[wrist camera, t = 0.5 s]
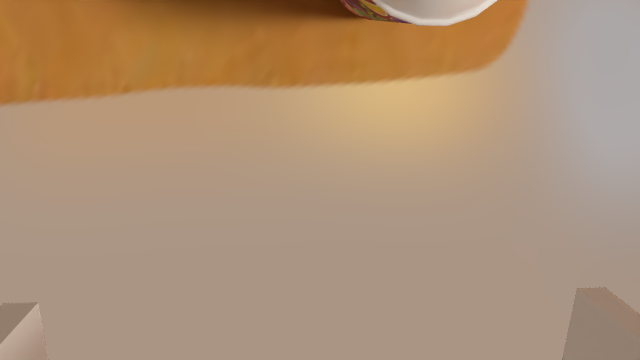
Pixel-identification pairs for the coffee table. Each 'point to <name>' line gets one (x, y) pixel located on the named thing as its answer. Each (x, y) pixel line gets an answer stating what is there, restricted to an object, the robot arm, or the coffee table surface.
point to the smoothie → (418, 10)
